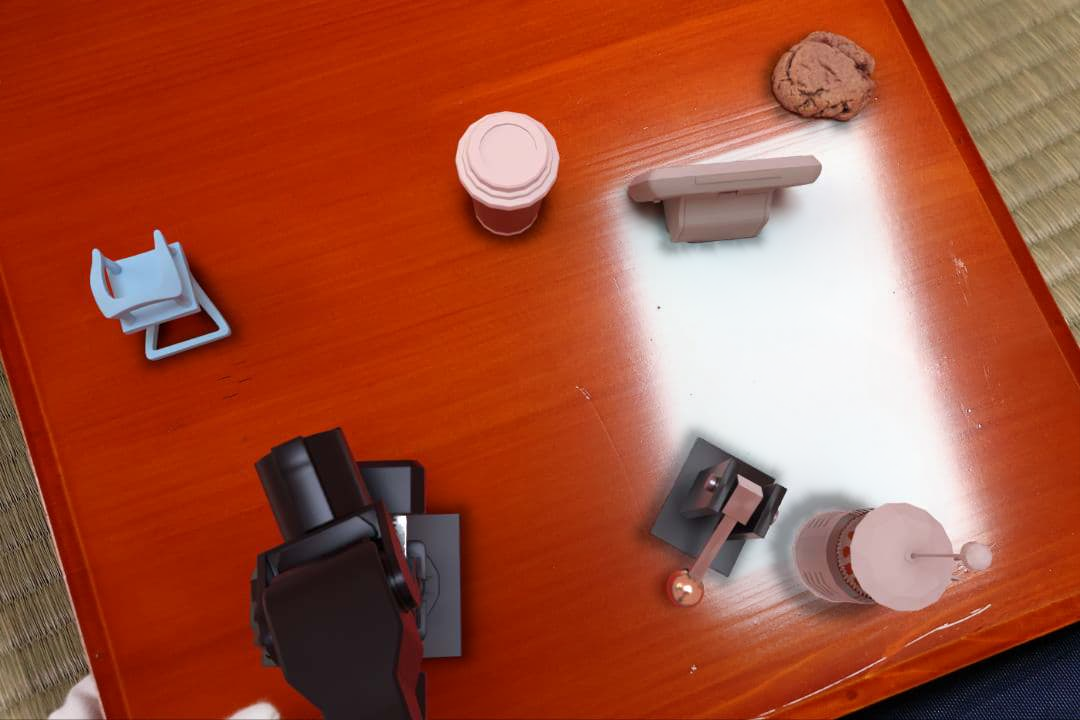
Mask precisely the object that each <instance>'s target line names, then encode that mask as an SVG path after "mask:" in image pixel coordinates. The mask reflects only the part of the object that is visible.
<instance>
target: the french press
mask: <svg viewBox="0 0 1080 720" xmlns="http://www.w3.org/2000/svg"><path fill="white" fill-rule="evenodd" d="M791 552H792V564H793V565H792V566H793V568H794V570H795V572H796V574H797V576H798V578H799V580H800V582H801V584H802V585H803V586H804V587H805V588H806V589H807V590H809V591H810V593H812V594H813V595H814V596H815V597H817V598H820V599H822V600H825V601H828V602H830V603H853V604H860V605H881V606H883V607H886V608H890V609H891V610H894V611H896V612H912V611H913V612H915V611H916V612H917V611H921V610H922V609H924V608H926V607H929V606H931V605H933V604H935V603H937V601H938V600H939V599H940V598H941V596H942V595H943V594H944V593H945V591H946V590H947V589H948V588H949V586H950V585H951V582H960V581H962V579H961V577H960V576H957V575H954V574H953V573H954V569H955V562H960V561H961V563H962V564H963V567H965V568H966V569H968V570H970V571H985V570H986V569H988V568H989V567H991V564H992V561H993V556H994V555H993V553H992V551H991V550H990V548H989V546H988V545H986V544H984V543H982V542H980V541H977V540H974V541H969V542H966V543H964V544H963V545H962V547H961V549H960V552H959V553H954V548H953V543H952V542H951V539H950V538H949V536H948V534H947V532H946V530H945V528H944V526H943V525H942V523H941V522H940V521H939V520H937V519H936V518H935V517H934V516H933V515H932V514H930V512H929V511H927V510H926V509H923V508H921V507H918V506H916V505H913V504H911V503H908V502H886V503H883V504H882V505H880V506H878V507H876V508H875V507H865V508H858V509H856V508H855V509H849V510H822V511H821V512H820V511H819V512H818V513H816V514H814V515H812V516H809V517H808V518H807V519H806V520H805V521H804V522H803V523H802V524H801V526H800V527H799V528H798V529H797V531H796V533H795V536H794V540H793V542H792V547H791Z"/></svg>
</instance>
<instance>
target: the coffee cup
mask: <svg viewBox="0 0 1080 720" xmlns="http://www.w3.org/2000/svg"><path fill="white" fill-rule="evenodd" d="M560 159H561V158H560V154H559V150H558V146H557V142H556V139H555V138H554V137H553V135H552V134H551V133H550V132H549V131H548V129H547V128H546V126H545V125H544V124H543V123H541V122H540V121H538V120H536V119H535V118H532V117H531V116H530V115H528V114H526V113H519V112H514V111H507V110H505V111H500V112H494V113H490V114H486V115H484V116H483V117H482V118H480V119H478V120H477V121H475V122H473V123H472V124H469V126H468V128H467V129H466V131H465V132H464V133H463V135H462V136H461V137H460V139H459V141H458V143H457V150H456V154H455V161H454V162H455V166H456V170H457V175H458V180H459V182H460V184H461V185H462V186H463V187H464V189H465V190H466V192H467V193H468V194H469V196H470V197H471V200H472V203H473V208H474V212H475V216H476V218H477V220H478V221H479V223H480V224H481V225H482V226H483V228H485V229H486V230H487V231H490V232H491V233H493V234H495V235H501V236H506V237H509V236H513V235H517V234H521V233H523V232H525V231H526V230H527V229H529V228H530V227H531V226H532V225H533V223H534V222H535V220H536V219H537V218H538V215H539V210H540V208H541V205H542V201H543V199H544V197H546V196H547V194H548V193H549V191H550V190H551V188H552V187H553V186H554V184H555V183H556V181H557V178H558V171H559V166H560Z"/></svg>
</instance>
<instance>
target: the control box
mask: <svg viewBox="0 0 1080 720" xmlns="http://www.w3.org/2000/svg"><path fill="white" fill-rule="evenodd" d="M404 515H405V516H406V517H407V540H420V541H422V542H423V543H424V544H425V546H426V580H425V581H422V582H421V583H422V589H421V598H422V599H424V600H425V601H426V632H427V633H426V637H425V639H424V640H423V641H422V644H423V648H424V653H423V658H422V659H432V658H453V657H454V658H455V657H461V656H462V654H463V635H462V631H463V627H462V626H463V625H462V623H463V622H462V560H461V514H460V513H432V514H431V513H430V514H419V515H418V514H404ZM393 516H394V515H390V518H391V520H392V523H393V522H394V521H396V519H394V518H393ZM393 525H394V527H396V525H395V524H393Z"/></svg>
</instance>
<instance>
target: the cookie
mask: <svg viewBox="0 0 1080 720" xmlns="http://www.w3.org/2000/svg"><path fill="white" fill-rule="evenodd" d="M875 67H876V60H875V59H874V58H873V56H872V55H871V54H870V53H868V51H866V50H865V49H863V48H862V47H861V46H859V45H857V44H856V42H854V41H852V40H851V39H849V38H847V37H846V36H843V35H841V34H839V33H838V34H837V33H833V32H827V31H824V30H823V31H819V30H816V31H812V32H811V33H810V34H809V35H808V36H807V37H805V38H804V39H802V40H800V42H799V43H797V44H793V46H791V47H790V49H789V51H787V52H784V53H783V54H782V55H781V57H780V59H779V60H778V62H777V64H776V66H775V68H774V69H773V72H772V75H771V78H770V79H771V80H770V81H771V83H772V92H773V94H774V97H776V99H777V101H778V102H779V103H780V104H781V105H782V107H783V108H784V109H786V110H788V111H790V112H794V113H797V114H798V113H799V114H801V116H802V117H806V118H809V117H811V116H812V117H813V118H816V117H817V118H819V117H823V118H824V117H830V118H832V117H834V118H835V119H837V120H840V121H848V120H851V119H852V118H853V117H854V116H856V115H858V114H859V113H860V112H861V111H862V110H863V109H864V108H865V107H866V106H867V105H868V104H869V102H870V100H871V96H872V94H873V91H874V89H875V87H876V82H875V80H873V79H871V78H870V76H871V75H873V73H874V71H875Z"/></svg>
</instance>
